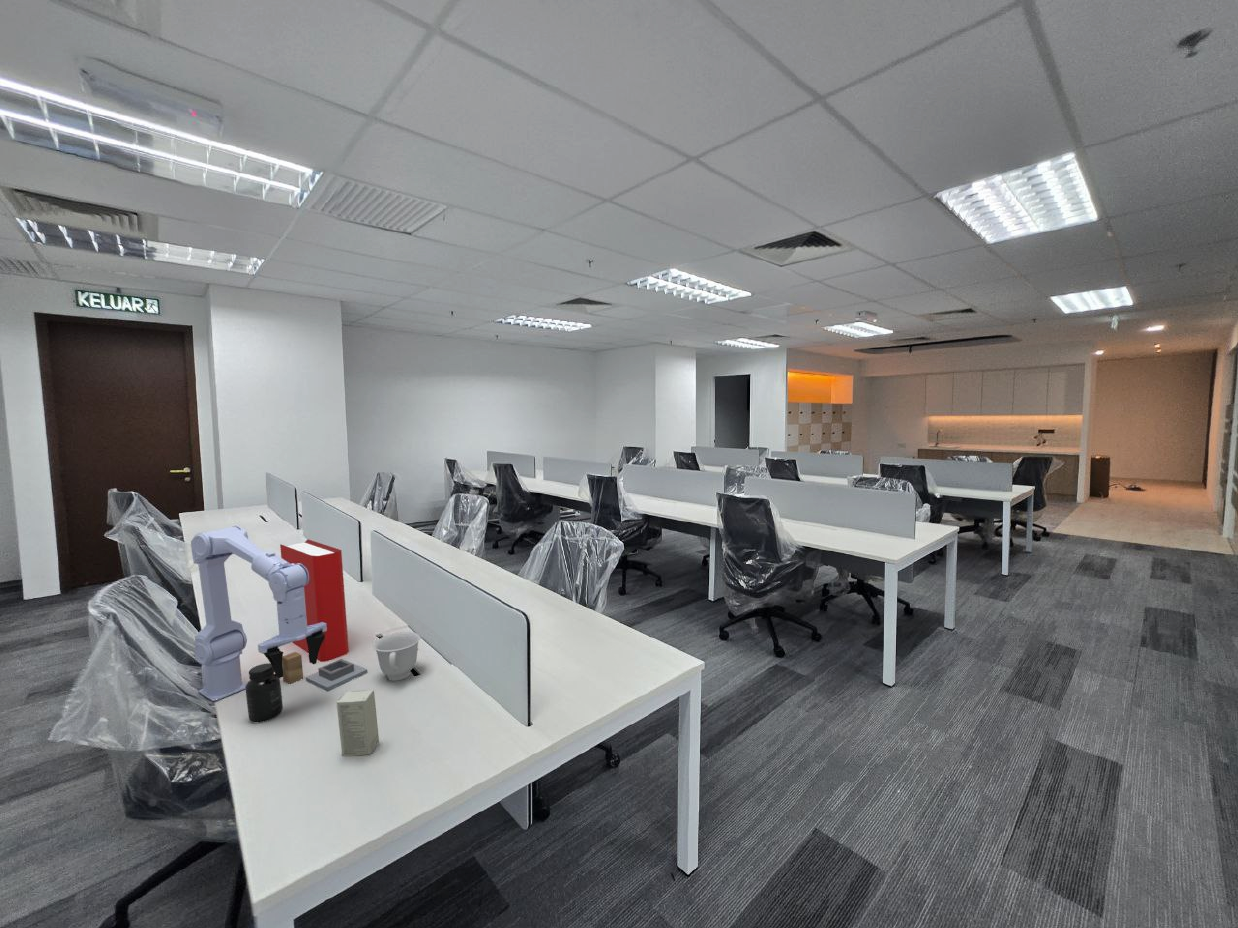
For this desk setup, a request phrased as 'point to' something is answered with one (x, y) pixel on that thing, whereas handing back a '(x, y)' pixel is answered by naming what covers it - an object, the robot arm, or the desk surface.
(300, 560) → the book
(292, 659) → the oak peg
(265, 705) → the supplement bottle
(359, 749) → the skincare box
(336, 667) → the stand
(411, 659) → the teacup
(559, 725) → the desk surface
